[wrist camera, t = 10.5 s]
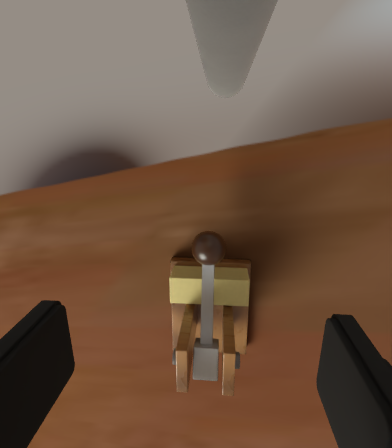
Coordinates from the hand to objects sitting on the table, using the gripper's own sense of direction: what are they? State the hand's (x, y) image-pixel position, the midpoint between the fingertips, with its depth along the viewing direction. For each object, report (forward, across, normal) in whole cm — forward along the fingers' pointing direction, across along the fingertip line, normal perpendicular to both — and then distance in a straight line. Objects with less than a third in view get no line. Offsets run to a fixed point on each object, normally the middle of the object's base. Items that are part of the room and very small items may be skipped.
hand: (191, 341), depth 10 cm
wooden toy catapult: (+22, 0, +13) cm, 25 cm away
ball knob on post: (+16, 0, +8) cm, 18 cm away
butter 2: (+21, -2, +9) cm, 22 cm away
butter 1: (+21, +2, +9) cm, 22 cm away
